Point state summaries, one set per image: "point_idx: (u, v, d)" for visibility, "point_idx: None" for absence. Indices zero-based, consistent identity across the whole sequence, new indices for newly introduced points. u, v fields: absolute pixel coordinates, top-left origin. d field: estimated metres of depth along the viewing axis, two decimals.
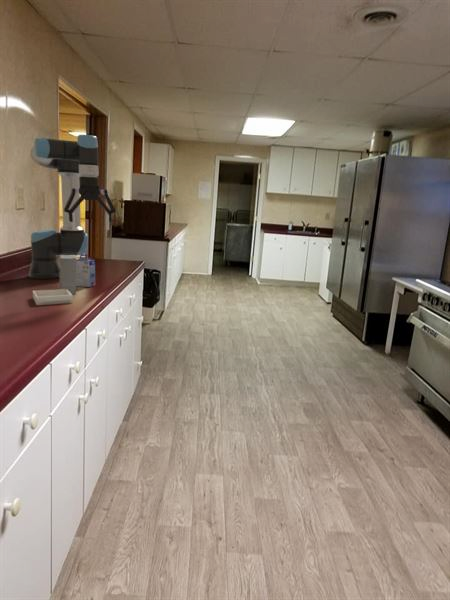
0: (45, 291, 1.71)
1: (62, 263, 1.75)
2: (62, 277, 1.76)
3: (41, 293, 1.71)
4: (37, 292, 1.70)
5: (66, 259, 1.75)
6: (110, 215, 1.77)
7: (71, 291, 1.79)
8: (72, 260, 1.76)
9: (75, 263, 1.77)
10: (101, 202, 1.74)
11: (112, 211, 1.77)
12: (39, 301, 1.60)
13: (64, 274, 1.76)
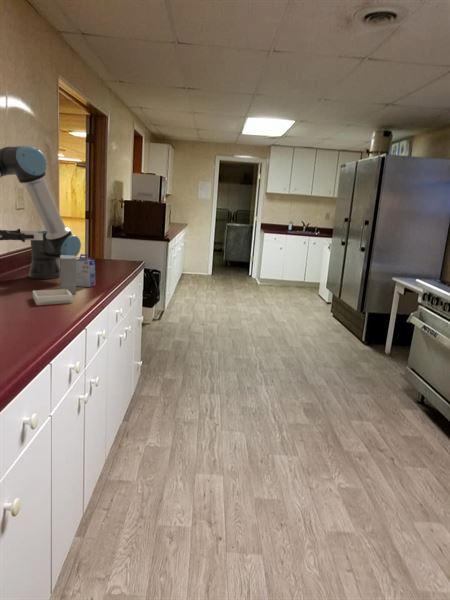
0: (45, 291, 1.71)
1: (62, 263, 1.75)
2: (62, 277, 1.76)
3: (41, 293, 1.71)
4: (37, 292, 1.70)
5: (66, 259, 1.75)
6: None
7: (71, 291, 1.79)
8: (72, 260, 1.76)
9: (75, 263, 1.77)
10: None
11: None
12: (39, 301, 1.60)
13: (64, 274, 1.76)
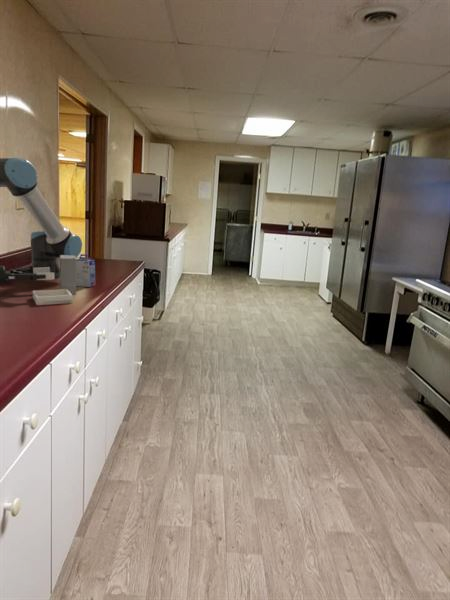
0: (45, 291, 1.71)
1: (62, 263, 1.75)
2: (62, 277, 1.76)
3: (41, 293, 1.71)
4: (37, 292, 1.70)
5: (66, 259, 1.75)
6: (38, 278, 1.67)
7: (71, 291, 1.79)
8: (72, 260, 1.76)
9: (75, 263, 1.77)
10: None
11: None
12: (39, 301, 1.60)
13: (64, 274, 1.76)
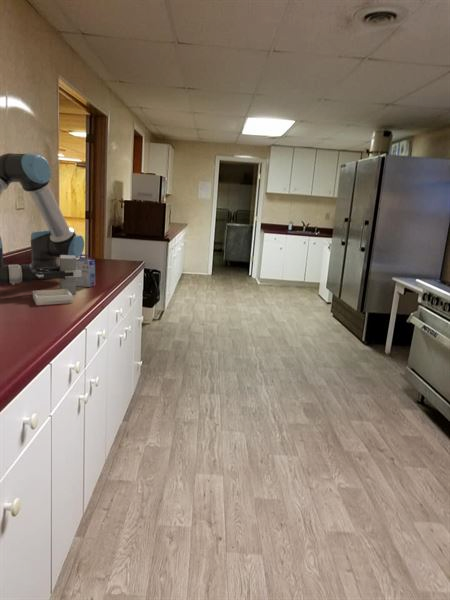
0: (45, 291, 1.71)
1: (62, 263, 1.75)
2: None
3: (41, 293, 1.71)
4: (37, 292, 1.70)
5: (66, 259, 1.75)
6: (67, 276, 1.75)
7: (71, 291, 1.79)
8: (72, 260, 1.76)
9: (75, 263, 1.77)
10: None
11: None
12: (39, 301, 1.60)
13: None
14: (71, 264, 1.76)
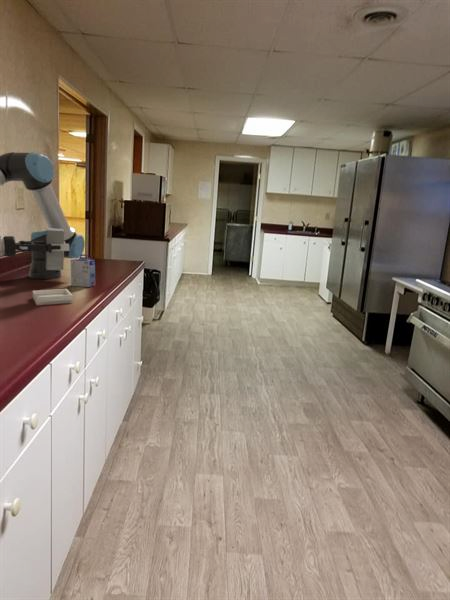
0: (45, 291, 1.71)
1: (48, 235, 1.62)
2: None
3: (41, 293, 1.71)
4: (37, 292, 1.70)
5: (53, 231, 1.63)
6: None
7: (58, 266, 1.66)
8: (59, 232, 1.64)
9: (62, 236, 1.64)
10: None
11: None
12: (39, 301, 1.60)
13: None
14: (58, 237, 1.64)
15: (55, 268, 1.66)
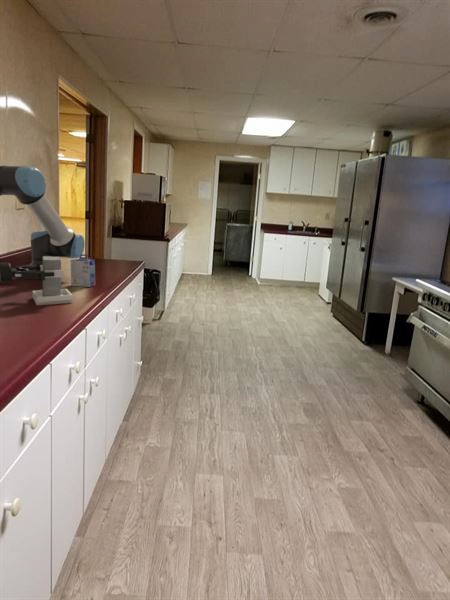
0: None
1: (45, 265, 1.60)
2: (45, 280, 1.61)
3: (41, 293, 1.71)
4: (37, 292, 1.70)
5: (49, 261, 1.60)
6: None
7: (55, 295, 1.64)
8: (56, 262, 1.61)
9: (59, 265, 1.62)
10: None
11: None
12: (39, 301, 1.60)
13: None
14: (55, 266, 1.62)
15: None
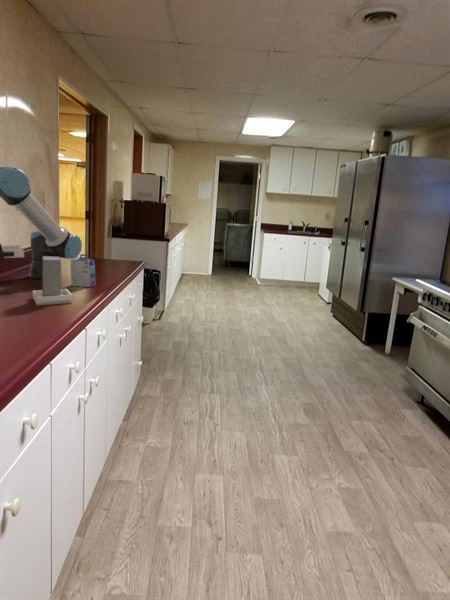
0: None
1: (45, 265, 1.60)
2: (45, 280, 1.61)
3: (41, 293, 1.71)
4: (37, 292, 1.70)
5: (49, 261, 1.60)
6: None
7: (55, 295, 1.64)
8: (56, 262, 1.61)
9: (59, 265, 1.62)
10: None
11: None
12: (39, 301, 1.60)
13: (47, 277, 1.61)
14: (55, 266, 1.62)
15: None
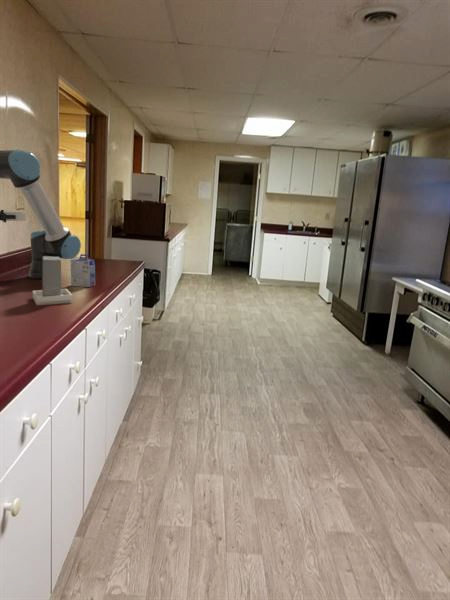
0: None
1: (45, 265, 1.60)
2: (45, 280, 1.61)
3: (41, 293, 1.71)
4: (37, 292, 1.70)
5: (49, 261, 1.60)
6: (8, 218, 1.56)
7: (55, 295, 1.64)
8: (56, 262, 1.61)
9: (59, 265, 1.62)
10: None
11: None
12: (39, 301, 1.60)
13: (47, 277, 1.61)
14: (55, 266, 1.62)
15: None
